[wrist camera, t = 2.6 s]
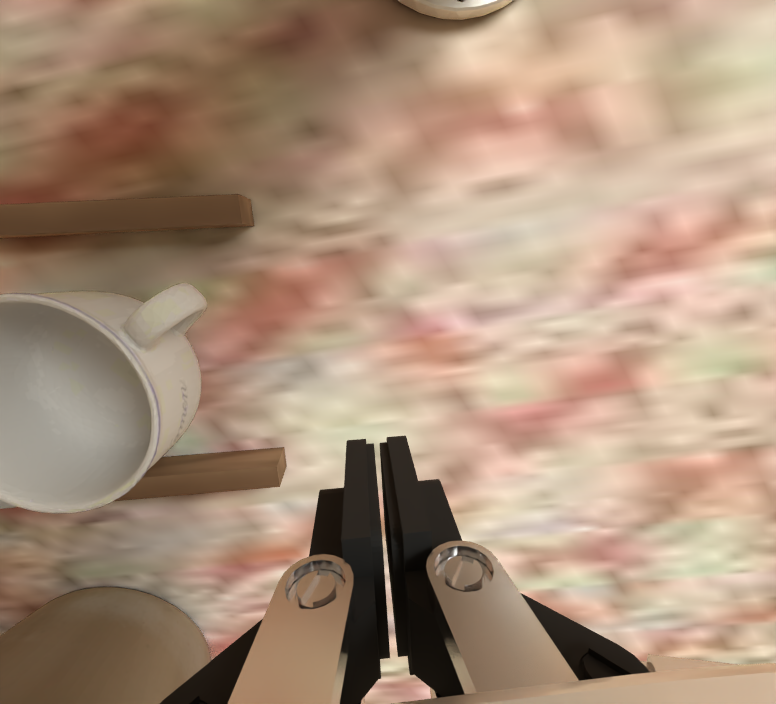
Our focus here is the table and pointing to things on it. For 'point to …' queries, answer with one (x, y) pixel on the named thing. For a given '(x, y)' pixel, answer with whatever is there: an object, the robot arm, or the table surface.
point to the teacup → (92, 392)
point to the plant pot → (100, 650)
